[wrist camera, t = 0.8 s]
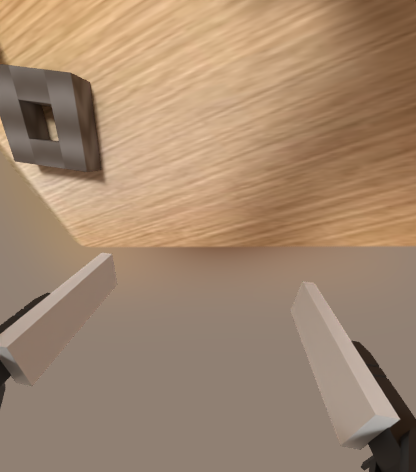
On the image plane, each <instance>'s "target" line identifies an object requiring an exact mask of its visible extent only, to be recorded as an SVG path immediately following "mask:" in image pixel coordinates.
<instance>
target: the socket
mask: <svg viewBox="0 0 416 472" xmlns="http://www.w3.org/2000/svg"><path fill="white" fill-rule="evenodd" d="M42 105H44V106H52V110H53V115H54V120H55V124H56V129H57V134H58V138H59V141H53V140H50V139H49V135H48V130H47V126H46V122H45V118H44V113H43V109H42ZM0 117H1V120H2V123H3V126H4V130H5V133H6V136H7V139H8V142H9V145H10V148H11V151H12V154H13V157H14V160H15V161H16V162H23V163H30V164H37V165H43V166H50V167H57V168H64V169H70V170H77V171H84V172H90V171H97V170H101V165H100V157H99V150H98V142H97V135H96V127H95V119H94V112H93V104H92V97H91V89H90V82H88V81H86V80H84V79H82V78H80V77H78V76H76V75H74V74H72V73H68V72H60V71H52V70H44V69H36V68H27V67H19V66H11V65H3V64H0Z"/></svg>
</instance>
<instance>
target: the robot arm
mask: <svg viewBox="0 0 416 472" xmlns="http://www.w3.org/2000/svg"><path fill="white" fill-rule="evenodd" d="M116 285H117V279H116V274H115V268H114V262H113V257H112V254H108V253H101V254H99V255H98V256H97V257H96V258H95V259H93V260H92V261H91V262H89V263H88V264H87V265H86V266H85V267H83V268H82V269H81V270H80V271H78V272H77V273H76V274H75V275H73V276H72V277H71V278H70V279H68V280H67V281H66V282H65V283H63V284H62V285H61V286H60V287H58V288H57V289H56V290H55V291H53V292H52V293H46V294H44V295H42V296H40V297H38V298H36V299H34V300H33V301H32V302H30V303H29V304H28V305H26V306H25V307H24V309H21V310H20V311H19V312H17V313H16V314H15V316H12V317H11V318H9V319H8V320H7V321H6V322H4V323H3V324H2V325H0V407H1V403H2V400H3V396H4V392H5V383H4V382H5V381H6V380H7V379H8V378H9V377H10V376H12V378H13V379H14V381H15V382H16V383H20V384H24V385H30V386H33V385H34V383H35V382H36V381H37V380H38V379H39V377H40V376H41V375H42V374H43V373H44V371H45V370H46V369H47V368H48V367H49V365H50V364H51V363H52V362H53V361H54V359H55V358H56V357H57V356H58V355H59V353H60V352H61V351H62V350H63V349H64V347H65V346H66V345H67V344H68V343H69V342H70V340H71V339H72V338H73V337H74V336H75V334H76V333H77V332H78V331H79V330H80V328H81V327H82V326H83V325H84V324H85V322H86V321H87V320H88V319H89V318H90V316H91V315H92V314H93V313H94V312H95V310H96V309H97V308H98V307H99V306H100V304H101V303H102V302H103V301H104V300H105V299H106V297H107V296H108V295H109V294H110V293H111V291H112V290H113V289H114V288H115V287H116ZM290 312H291V314H292V317H293V320H294V322H295V325H296V328H297V330H298V333H299V336H300V339H301V341H302V344H303V347H304V349H305V352H306V355H307V357H308V360H309V363H310V365H311V368H312V371H313V374H314V376H315V378H316V381H317V384H318V387H319V389H320V392H321V395H322V398H323V400H324V403H325V406H326V409H327V411H328V414H329V417H330V419H331V422H332V424H333V427H334V430H335V433H336V436H337V438H338V441H339V443H340V446H343V447H348V448H354V449H359V450H361V449H362V448H364V447H365V446H366V445H367V444H368V445H369V447H370V449H371V451H372V453H373V456H371V457H370V458H368V459H367V460H366V461H364V462H363V464H362V466H361V468H362V469H363V470H366V469H367V468H369V472H416V419H415V417H414V416H413V414H412V413H411V411H410V410H409V408H408V407H407V406H406V404H405V403H404V401H403V400H402V398H401V397H400V395H399V394H398V393H397V391H396V390H395V388H394V387H393V386H392V384H391V382H390V381H389V379H387V378H386V375H385V374H384V372H383V371H382V369H381V368H379V365H378V363H377V362H376V360H375V359H374V358H373V356H372V355H371V353H370V352H369V351H368V350H366V348H364V346H363V345H361V344H360V343H359V342H355V341H351V340H350V339H349V337H348V336H347V334H346V332H345V331H344V329H343V328H342V326H341V324H340V323H339V321H338V320H337V318H336V317H335V315H334V313H333V312H332V310H331V309H330V307H329V305H328V304H327V302H326V301H325V299H324V297H323V296H322V294H321V293H320V291H319V290H318V288H317V286H316V285H315V283H311V282H304V281H302V284H301V286H300V288H299V291H298V293H297V296H296V298H295V301H294V303H293V305H292V308H291V310H290Z"/></svg>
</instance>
